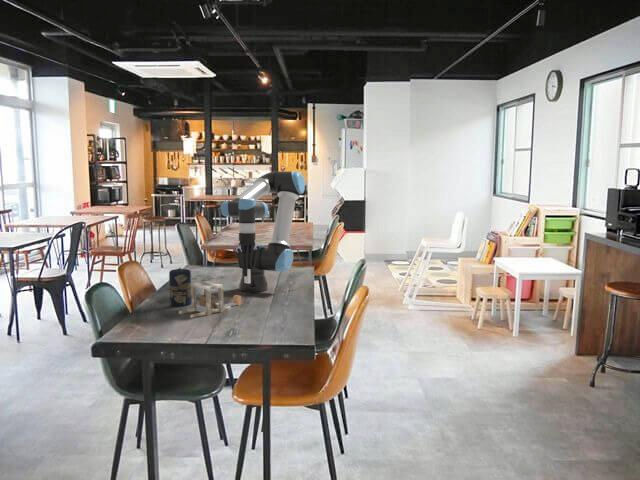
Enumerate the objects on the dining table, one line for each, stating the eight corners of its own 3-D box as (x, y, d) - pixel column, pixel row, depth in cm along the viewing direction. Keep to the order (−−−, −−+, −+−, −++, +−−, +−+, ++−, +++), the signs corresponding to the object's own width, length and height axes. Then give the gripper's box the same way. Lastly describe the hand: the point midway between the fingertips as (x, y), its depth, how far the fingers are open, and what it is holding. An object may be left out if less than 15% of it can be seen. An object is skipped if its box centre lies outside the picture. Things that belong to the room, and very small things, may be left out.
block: (208, 306, 252) (208, 294, 251) (215, 308, 248) (215, 295, 248) (200, 308, 248) (199, 295, 248) (206, 310, 245) (206, 297, 244)
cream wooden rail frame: (226, 305, 263) (225, 277, 262) (242, 309, 255) (242, 281, 253) (177, 315, 245) (176, 285, 243) (193, 320, 236) (192, 290, 235)
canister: (170, 309, 255) (168, 270, 252) (169, 304, 264) (168, 266, 262) (192, 308, 257) (190, 269, 255) (190, 303, 266) (189, 265, 264)
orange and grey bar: (234, 302, 263) (234, 294, 263) (244, 305, 258) (243, 296, 258) (196, 310, 248) (196, 301, 248) (205, 313, 244) (205, 304, 243)
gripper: (252, 230, 268) (253, 280, 270) (230, 232, 258) (231, 283, 261) (263, 231, 262) (263, 282, 265) (240, 233, 253) (241, 286, 256)
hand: (247, 282), depth 263 cm, fingers closed
